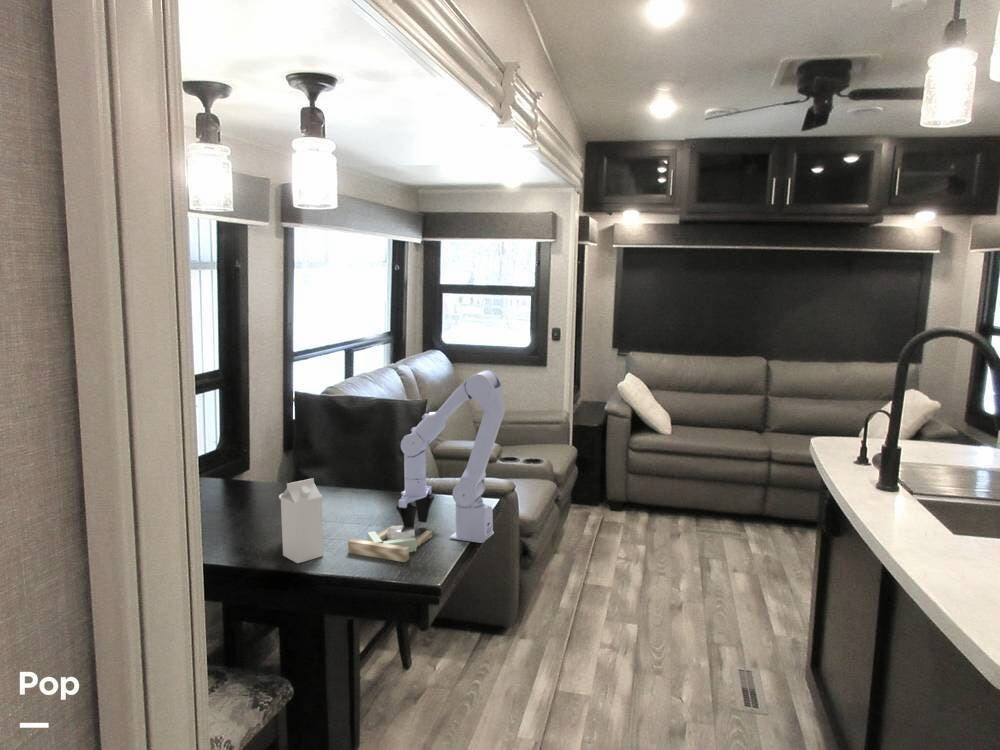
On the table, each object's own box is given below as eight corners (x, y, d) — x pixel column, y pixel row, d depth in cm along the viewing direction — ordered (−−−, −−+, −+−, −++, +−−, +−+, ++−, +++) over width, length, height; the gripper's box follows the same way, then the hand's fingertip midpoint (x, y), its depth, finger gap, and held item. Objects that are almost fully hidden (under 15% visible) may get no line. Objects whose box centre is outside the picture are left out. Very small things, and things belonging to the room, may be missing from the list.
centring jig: (438, 537, 186) (438, 526, 186) (405, 562, 170) (404, 550, 169) (386, 529, 192) (385, 519, 192) (348, 552, 176) (348, 541, 175)
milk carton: (282, 556, 173) (279, 480, 171) (309, 548, 178) (306, 475, 176) (297, 564, 168) (294, 486, 166) (323, 556, 173) (321, 480, 171)
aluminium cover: (419, 538, 186) (419, 527, 185) (406, 547, 179) (406, 536, 179) (396, 534, 188) (396, 523, 188) (382, 543, 182) (382, 532, 181)
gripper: (415, 469, 197) (416, 516, 199) (388, 482, 184) (389, 532, 186) (437, 471, 195) (438, 519, 197) (411, 485, 182) (412, 536, 183)
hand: (416, 526), depth 191 cm, fingers open, 7 cm apart
